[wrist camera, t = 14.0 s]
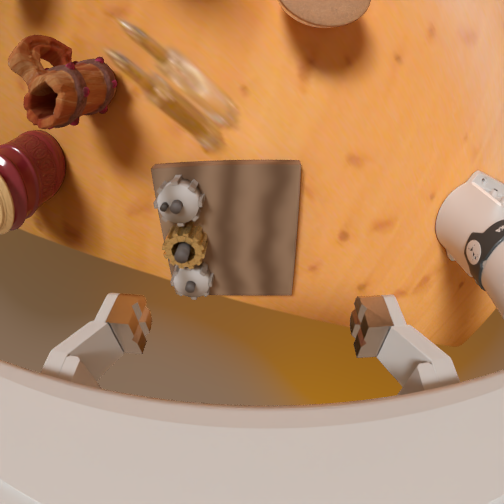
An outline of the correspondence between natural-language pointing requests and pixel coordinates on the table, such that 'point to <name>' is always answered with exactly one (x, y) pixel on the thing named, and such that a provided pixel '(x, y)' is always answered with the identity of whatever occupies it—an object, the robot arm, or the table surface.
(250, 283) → the gear board
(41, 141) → the canister
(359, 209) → the table surface
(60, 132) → the table surface
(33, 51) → the mug
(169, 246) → the brass gear
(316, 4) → the lidded jar
